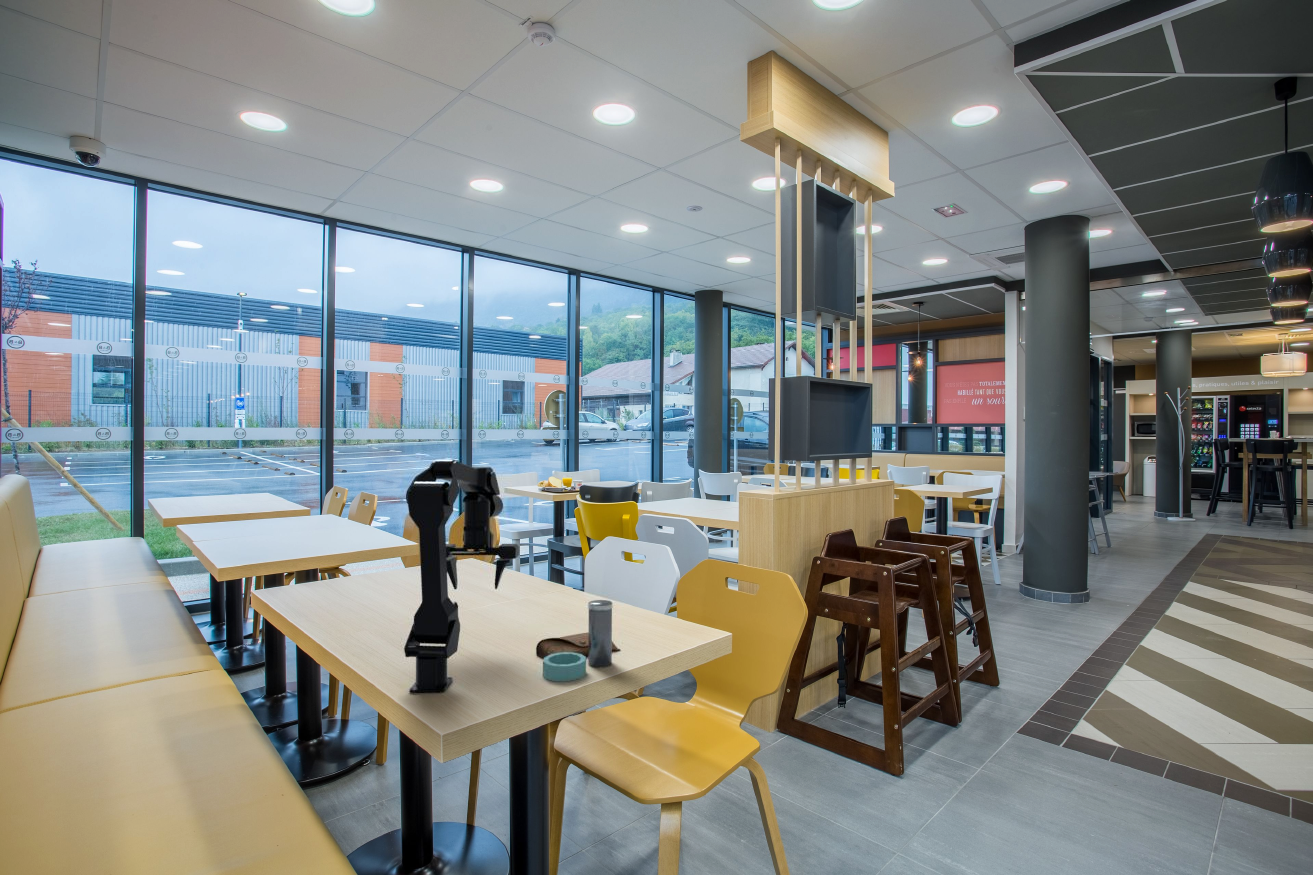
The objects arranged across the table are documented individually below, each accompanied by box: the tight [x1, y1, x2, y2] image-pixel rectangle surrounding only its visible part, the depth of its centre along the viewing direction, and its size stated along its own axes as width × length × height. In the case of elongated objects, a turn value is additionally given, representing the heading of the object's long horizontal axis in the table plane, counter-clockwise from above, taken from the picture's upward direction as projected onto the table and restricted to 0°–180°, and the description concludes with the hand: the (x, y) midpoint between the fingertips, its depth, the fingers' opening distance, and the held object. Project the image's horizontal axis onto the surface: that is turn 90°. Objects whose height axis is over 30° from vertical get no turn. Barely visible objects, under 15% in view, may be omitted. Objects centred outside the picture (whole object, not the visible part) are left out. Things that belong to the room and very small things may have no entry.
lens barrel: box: [587, 599, 613, 669], centre depth 136 cm, size 5×5×13 cm
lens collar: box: [542, 652, 587, 682], centre depth 130 cm, size 9×9×3 cm
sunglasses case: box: [535, 632, 621, 660], centre depth 144 cm, size 18×7×7 cm
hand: (476, 588), depth 146 cm, fingers open, 9 cm apart
